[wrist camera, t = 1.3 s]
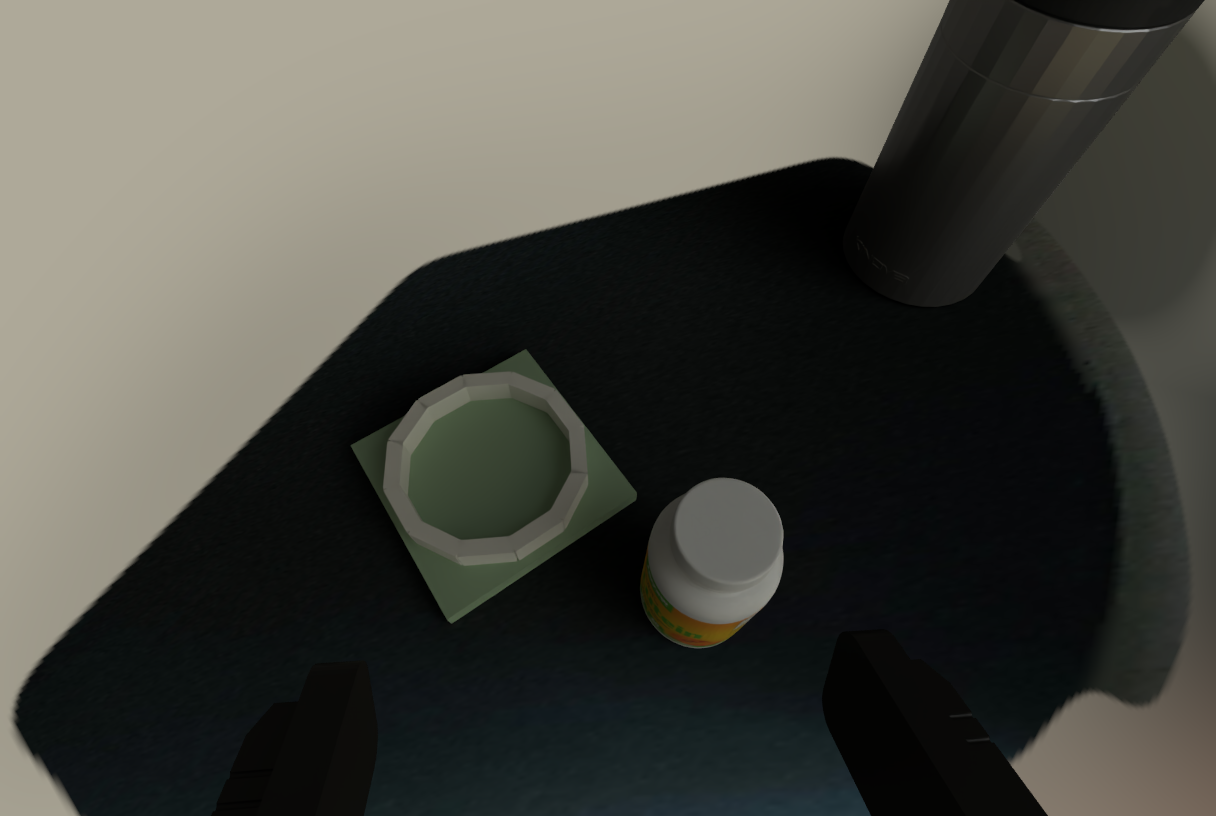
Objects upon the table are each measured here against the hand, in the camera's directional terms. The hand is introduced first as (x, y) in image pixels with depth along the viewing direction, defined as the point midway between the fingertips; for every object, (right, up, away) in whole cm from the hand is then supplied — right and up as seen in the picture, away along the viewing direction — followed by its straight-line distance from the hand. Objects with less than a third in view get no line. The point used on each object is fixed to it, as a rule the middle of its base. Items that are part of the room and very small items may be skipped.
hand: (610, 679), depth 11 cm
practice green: (-6, +1, +23) cm, 24 cm away
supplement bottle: (+4, -5, +20) cm, 21 cm away
